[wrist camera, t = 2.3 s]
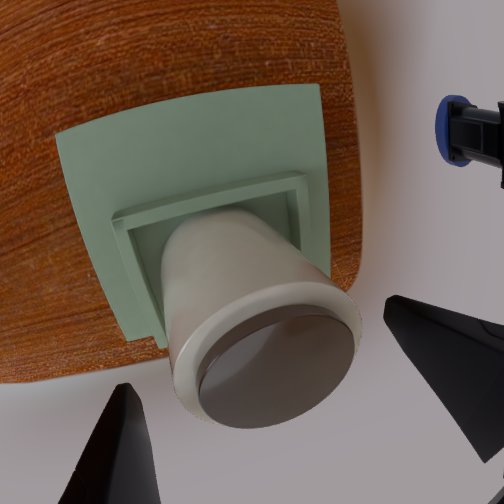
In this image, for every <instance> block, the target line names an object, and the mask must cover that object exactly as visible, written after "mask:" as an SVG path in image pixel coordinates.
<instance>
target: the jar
mask: <svg viewBox="0 0 504 504" xmlns="http://www.w3.org/2000/svg"><path fill="white" fill-rule="evenodd" d="M160 275H161V288H162V300H163V310H164V320H165V329H166V337H167V345H168V353H169V360H170V366H171V373H172V380H173V385H174V390H175V393H176V395H177V397H178V399H179V401H180V402H181V403H182V405H183V406H184V407H185V408H186V409H187V410H188V411H189V412H190V413H192V414H193V415H195V416H196V417H198V418H200V419H202V420H204V421H206V422H209V423H212V424H216V425H221V426H229V427H234V428H241V429H253V428H263V427H268V426H272V425H276V424H280V423H282V422H285V421H288V420H291V419H293V418H295V417H297V416H299V415H301V414H303V413H305V412H307V411H308V410H310V409H312V408H313V407H315V406H316V405H318V404H319V403H320V402H322V401H323V400H324V399H325V398H326V397H327V396H329V395H330V394H331V393H332V392H333V391H334V390H335V389H336V387H337V386H338V385H339V384H340V383H341V381H342V380H343V379H344V377H345V375H346V374H347V372H348V370H349V368H350V366H351V364H352V362H353V360H354V358H355V356H356V353H357V351H358V348H359V345H360V341H361V337H362V319H361V316H360V313H359V310H358V308H357V306H356V304H355V302H354V301H353V300H352V299H351V298H350V297H349V295H348V294H346V293H345V292H344V291H343V290H342V289H341V288H340V287H339V286H338V285H337V284H336V283H335V282H334V281H332V280H331V279H330V278H329V277H328V276H327V275H326V274H325V273H324V272H323V271H322V270H320V269H319V268H318V267H317V266H316V265H315V264H314V263H313V262H312V261H311V260H309V259H308V258H307V257H306V256H305V255H304V254H303V253H302V252H301V251H300V250H298V249H297V248H296V247H295V246H294V245H293V244H292V243H291V242H289V241H288V240H287V239H286V238H285V237H284V236H283V235H282V234H280V233H279V232H278V231H277V230H276V229H275V228H274V227H273V226H271V225H270V224H269V223H268V222H267V221H266V220H265V219H263V218H262V217H261V216H259V215H258V214H256V213H254V212H253V211H250V210H248V209H245V208H241V207H237V206H218V207H214V208H210V209H206V210H202V211H199V212H197V213H195V214H193V215H191V216H190V217H188V218H187V219H185V220H184V221H183V222H182V223H181V224H179V225H178V227H177V228H176V229H175V230H174V231H173V232H172V234H171V235H170V236H169V238H168V240H167V242H166V244H165V246H164V249H163V251H162V255H161V260H160Z"/></svg>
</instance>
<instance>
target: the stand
mask: <svg viewBox="0 0 504 504" xmlns="http://www.w3.org/2000/svg"><path fill="white" fill-rule="evenodd" d="M55 137H56V143H57V147H58V152H59V157H60V161H61V165H62V169H63V173H64V177H65V181H66V185H67V189H68V192H69V196H70V199H71V203H72V206H73V209H74V213H75V216H76V219H77V222H78V225H79V228H80V231H81V234H82V237H83V240H84V243H85V245H86V248H87V251H88V253H89V256H90V259H91V261H92V264H93V266H94V269H95V272H96V274H97V276H98V279H99V281H100V284H101V286H102V288H103V291H104V293H105V295H106V297H107V300H108V302H109V304H110V306H111V309H112V311H113V313H114V315H115V317H116V319H117V321H118V323H119V325H120V327H121V329H122V331H123V333H124V335H125V337H126V339H127V341H132V340H136V339H140V338H144V337H148V336H152V335H153V336H154V339H155V341H156V343H157V345H158V347H159V349H162V348H166V347H168V345H167V337H166V329H165V320H164V310H163V300H162V288H161V275H160V260H161V255H162V251H163V249H164V246H165V244H166V242H167V240H168V238H169V236H170V235H171V234H172V232H173V231H174V230H175V229H176V228H177V227H178V225H179V224H181V223H182V222H183V221H184V220H185V219H187V218H188V217H190V216H191V215H193V214H195V213H197V212H199V211H202V210H206V209H210V208H214V207H218V206H237V207H241V208H245V209H248V210H250V211H253V212H254V213H256V214H258V215H259V216H261V217H262V218H263V219H265V220H266V221H267V222H268V223H269V224H270V225H271V226H273V227H274V228H275V229H276V230H277V231H278V232H279V233H280V234H282V235H283V236H284V237H285V238H286V239H287V240H288V241H289V242H291V243H292V244H293V245H294V246H295V247H296V248H297V249H298V250H300V251H301V252H302V253H303V254H304V255H305V256H306V257H307V258H308V259H309V260H311V261H312V262H313V263H314V264H315V265H316V266H317V267H318V268H319V269H320V270H322V271H323V272H324V273H325V274H326V275H327V276H328V277H329V278H330V212H329V189H328V172H327V157H326V144H325V133H324V122H323V113H322V104H321V95H320V87H319V84H286V85H270V86H257V87H246V88H237V89H229V90H221V91H214V92H208V93H201V94H196V95H190V96H185V97H179V98H174V99H169V100H165V101H160V102H156V103H152V104H147V105H143V106H139V107H136V108H132V109H128V110H125V111H121V112H117V113H114V114H111V115H107V116H104V117H101V118H98V119H95V120H92V121H89V122H86V123H83V124H80V125H77V126H75V127H72V128H69V129H67V130H64V131H61V132H59V133H56V134H55Z"/></svg>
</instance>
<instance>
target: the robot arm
mask: <svg viewBox="0 0 504 504" xmlns="http://www.w3.org/2000/svg"><path fill="white" fill-rule="evenodd" d="M498 107H499V112H495V111H490V110H484V109H478V108H477V106H475V105H471V104H467V103H462V102H457V101H450V100H449V101H448V102H447V111H448V159H449V161H451V162H461V161H471V160H475V161H479V162H482V163H485V164H488V165H492V166H495V167H498V168H501V169H502V182H501V188H503V189H504V101H500V102H498ZM383 318H384V321H385V323H386V325H387V326H388V328H389V329H390V331H391V332H392V334H393V336H394V337H395V338H396V340H397V342H398V343H399V345H400V346H401V348H402V350H403V351H404V353H405V354H406V355H407V357H408V358H409V359H410V360H411V362H412V363H413V364H414V366H415V367H416V368H417V369H418V371H419V372H420V373H421V375H422V376H423V377H424V379H425V380H426V381H427V383H428V384H429V385H430V387H431V388H432V389H433V391H434V392H435V393H436V395H437V396H438V397H439V399H440V400H441V402H442V403H443V404H444V406H445V407H446V409H447V410H448V411H449V413H450V414H451V415H452V417H453V418H454V420H455V421H456V423H457V424H458V426H459V427H460V429H461V430H462V431H463V433H464V434H465V436H466V437H467V439H468V440H469V442H470V443H471V445H472V446H473V448H474V449H475V451H476V452H477V454H478V455H479V457H480V458H481V460H482V461H483V462H484V463H486V462H487V461H488V460H490V459H491V458H492V457H493V456H494V455H495V454H497V453H498V452H499V451H500V450H501V449H502V448H503V447H504V325H500V324H495V323H491V322H488V321H485V320H481V319H478V318H474V317H471V316H468V315H464V314H461V313H457V312H454V311H450V310H447V309H444V308H440V307H437V306H433V305H430V304H426V303H423V302H419V301H416V300H413V299H409V298H406V297H403V296H399V295H393V296H391V297H389V298H387V300H386V302H385V308H384V315H383ZM75 470H76V471H74V472H73V474H72V476H71V479H70V481H69V483H68V485H67V487H66V489H65V491H64V493H63V495H62V497H61V498H60V500H59V502H58V504H161V501H160V497H159V491H158V486H157V480H156V474H155V467H154V461H153V454H152V447H151V442H150V437H149V433H148V429H147V425H146V420H145V416H144V411H143V406H142V402H141V399H140V397H139V396H138V394H137V393H136V391H135V390H134V389H133V387H132V385H131V384H130V383H123V384H118V385H117V386H116V387H115V389H114V391H113V393H112V395H111V397H110V399H109V401H108V403H107V405H106V406H105V409H104V410H103V412H102V414H101V416H100V418H99V420H98V422H97V424H96V426H95V428H94V430H93V432H92V434H91V436H90V438H89V440H88V442H87V444H86V447H85V449H84V451H83V453H82V455H81V457H80V459H79V461H78V463H77V465H76V468H75ZM503 478H504V476H503ZM488 504H504V487H503V488H502V489H501V490H500V491H499V492H498V493H497V495H496V496H495V497H494V498H493V499H492V500H491V501H490V502H489V503H488Z"/></svg>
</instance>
